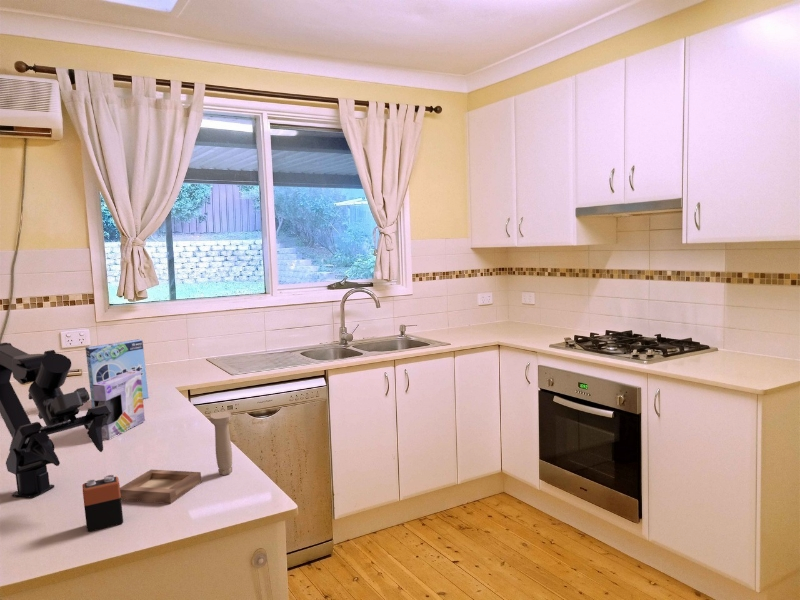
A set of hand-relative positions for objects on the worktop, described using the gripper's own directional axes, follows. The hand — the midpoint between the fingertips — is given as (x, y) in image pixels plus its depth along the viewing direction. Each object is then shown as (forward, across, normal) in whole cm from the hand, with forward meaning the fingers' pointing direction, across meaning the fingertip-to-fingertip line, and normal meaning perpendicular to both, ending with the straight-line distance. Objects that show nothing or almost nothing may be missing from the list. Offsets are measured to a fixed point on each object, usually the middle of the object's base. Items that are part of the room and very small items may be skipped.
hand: (80, 457), depth 129 cm
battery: (+15, 0, +4) cm, 15 cm away
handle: (+14, +31, +4) cm, 35 cm away
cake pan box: (-28, +38, +47) cm, 67 cm away
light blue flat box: (-53, +57, +72) cm, 106 cm away
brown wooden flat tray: (+11, +16, +8) cm, 21 cm away
